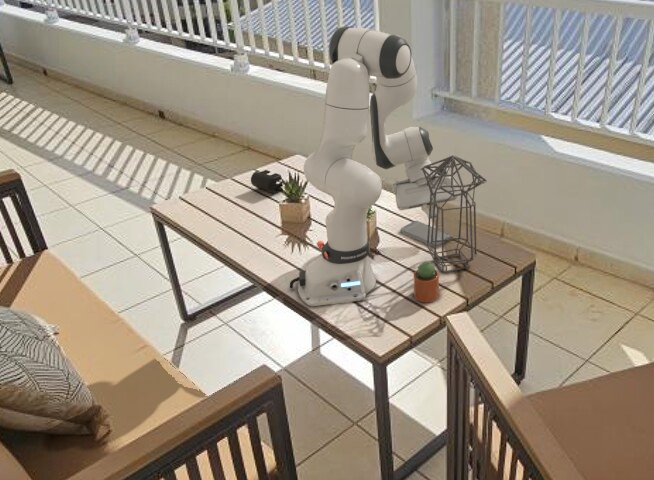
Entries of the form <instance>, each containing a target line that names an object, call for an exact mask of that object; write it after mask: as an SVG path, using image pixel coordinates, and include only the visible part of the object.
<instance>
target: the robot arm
mask: <svg viewBox="0 0 654 480" xmlns="http://www.w3.org/2000/svg"><path fill="white" fill-rule="evenodd" d="M328 53H329V58H330V61H331V66H330V70H329V73H328V78H327V81H326V82H327V83H326V88H325V97H324V112H323V124H322V125H323V126H322V132H321V136H320V141H319V142H318V145H317V146H316V149H315V150H314V151H313V152H311V153H310V154H309V155H307V158H306V159H305V161H304V164H303V175H304V177H305V179H306V180H307V181H308V182H309V183H310V184H311V185H312V186H313V187H314V188H315V189H317V190H319V191H320V192H322V193H325V194H326V195H328V196H330V197H331V198H332V199H333V202H334V207H333V209H332V210H330V211H329V212H328V214H327V215H326V217H325V228H326V238H327V241H326V242H324V241H323V240H318V241H317V242H316V246H317V248H318V250H320V251H321V254H320V255H319V256H318V257H317V258H316V259H314V260H313V261H312V262H311V263H310V264H308V265H307V266H306V268H305V270H300V271H298V277H295V278H293V279H292V280H290V282H289V288H290V289H293V288H294V284H295V283H296V282H298V284H297V291H298V295H299V297H300V299H301V300H302V302H303V303H304V304H306V305H308V306H309V307H319V306H326V305H335V304H342V303H343V304H344V303H352V302H360V301H364V299H365V298H366V296H367V294H368V293H370V292H372V290H373V289H374V288H375V286H376V285H377V278H376V276H375V274H374V272H373V269H372V264H371V259H370V257H371V245H370V244H371V243H370V239H369V238H368V232H367V231H368V228H367V217H368V211H369V209H370V207H372V206H374V205H375V204H376V203H377V201H379V199H380V197H381V195H382V192H383V191H382V190H383V182H382V179H381V177H380V176H379V175H378V174H377V173H376V172H375V171H374V170H372V169H371V168H370V167H369V166H367V165H365V164H363V163H360V162H358V161H356V160H354V159H353V153H354V150H355V147H356V145H359V144H360V143H362V142H363V141H364V140H365V139H366V137H367V134H368V125H369V124H368V123H369V113H370V127H371V155H372V156H371V157H372V160H373V161H374V163H375V165H376V166H377V167H379V168H381V169H384V170H389V169H391V168H394V167H397V166H400V165H404V168H405V169H404V170H405V171H404V172H405V175H406V179H403V180H397V181H395V182H394V183H393V184H392V186H391V189H392V193H393V194H394V195H395V196H394V197H395V203H396V207H397V209H398V210H399V211H405V210H411V209H416V208H421V211H422V212H423V213H424V214H425V215H426V217H427V219H428V220H429V209H428V206H430V195H431V194H430V189H429V186H427V181H426V178H425V176H424V173H423V171H422V170H420V169H421V168H423V167H424V166H426V165H429V164H431V163H432V162H431V160H430V156H431V154H432V152H433V150H434V147H433V145H432V142H431V140H430V133H429V131H428V130H426V128H423V127H421V126H407V127H405V128H403V129H402V130H400V131H398V132H394V133H390V134H386V120H387V119H388V117H389V116H391V115H392V114H393V113H394V112H396V111H397V110H398V109H400V108H401V107H404V106H406V105H407V104H408V103H409V102H410V101H411V100H412V99H413V98H414V96H415V94H416V92H417V90H418V76H417V70H416V65H415V62H414V58H413V56H412V49H411V46H410V43H408V41H407V40H406V39H405V38H403V37H402V36H400V35H398V34H390V33H387V32H383V31H378V30H375V29H374V28H369V27H355V26H341V27H337V29H336V30H334V32H333V34H332V35H331V37H330V40H329V45H328ZM371 77H376V83H377V85H376V88H375V91H374V93H372V94H371V93H370V78H371ZM370 94H371V95H370ZM424 169H425V170H426V171H427V172H428V173H429V174H430V173H431V172H433V171H431V170H429V169H426V168H424ZM431 169H433V170H435V169H436V168H431ZM447 170H448V168H447V169H446V170H445V172H444V175H445V174H446V172H447ZM442 171H443V169H441V170H440V171H439V173H442ZM434 174H435V172H434V173H433V174H432V175H431V176H430V178H431V177H432V176H433V175H434ZM447 175H450V170H449V171H448V173H447ZM426 176H427V174H426ZM439 176H440V175H439V174H436V176H435V177H434V178H433V179H432V180H431V181H432V183H433V184H435V182H436V181H437V179H438V178H439ZM444 177H445V176H443V177H442V180H441V182H440V184H439V186H440V185H441V183H442V181H443V179H444ZM428 180H429V179H428ZM429 183H430V182H429ZM438 183H439V181H438ZM438 183H437V184H436V186H435V188H436V187H437V185H438ZM445 185H451V177H449V176H446V177H445V179H444V181H443V183H442V185H441V186H445ZM453 185H456V182H455V180H454V179H453ZM430 186H431V187H432V185H431V183H430ZM435 188H433V189H432V191H433V193H434V192H435V190H436V189H435ZM438 188H439V187H438ZM444 189H446V190H447V191H452V188H451V187H444ZM453 189H454V190H458V187H453ZM437 192H443V190H442V189H440V190H438V189H437ZM451 193H453V192H451ZM455 194H459V191H454V195H455ZM450 196H451V195H450V194H449V193H447V192H446V193H437V194H436V202H437V205H438V206H439V204H444V203H445V202H446V201H447V200H448V199H449V197H450ZM458 197H459V196H455V197H453V196H452V197H451V198H450V199H449V200H448V201H447V202H446V203H448V202H454V201H455V200H457V198H458ZM432 198H433V196H432ZM433 200H434V199H433ZM433 206H434V202H433V201H432V204H431V208H433ZM436 216H437V208H436V206H435V217H434V219H436ZM431 219H433V210H431Z"/></svg>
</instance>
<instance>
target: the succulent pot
mask: <svg viewBox="0 0 654 480" xmlns="http://www.w3.org/2000/svg"><path fill="white" fill-rule="evenodd" d="M413 297H414V298H415V300H416V301H418V302H421V303H433V302H436V301H437V300H438V298H439V297H440V273H439V272H438V270H436V269H435V266H434V264H433V263H432V262H429V261H423V262H421V263H420V264H419V265H418V267H417V270H415V271H414V272H413Z"/></svg>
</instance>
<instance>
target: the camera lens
mask: <svg viewBox="0 0 654 480" xmlns="http://www.w3.org/2000/svg"><path fill="white" fill-rule="evenodd" d="M270 173H271V171H270V170H268V169H265V170H262V171H260V172H259V171H254V172H253V173H252V175H251V177H250V184H251V185H252V186H253V187H255V188H257V189H259V190H263V191H265V192H268V193H271V194H273V195H274V194H277V193H279V192H281V191H283V190H284V189H283V182H282V181H281V180H282V175H281V174H280V173H276V172H275V173H273V174H270ZM280 181H281V182H280ZM277 182H279V183H277Z"/></svg>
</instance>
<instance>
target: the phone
mask: <svg viewBox="0 0 654 480" xmlns="http://www.w3.org/2000/svg"><path fill="white" fill-rule="evenodd" d="M435 232H436V227H434V230H433V241H435ZM400 233H401V234H403V235H405V236H408V237H410V238H412V239H414V240H417V241H419V242H421V243H422V244H426V245H427V238H428V223H425V222H421V221H420V220H414V221H412V222H410V223H408V224H406V225H405V226H402V227H401V228H400ZM431 234H432V225H430V234H429V243H430V242H431ZM451 238H452V235H451V233H448V232H446V231H444V239H451ZM437 240H442V229H441V230H440V229H438V230H437ZM447 242H448V241H444V244H445V243H447ZM433 245H434V247H435V242H434V243H433ZM440 246H442V242H437V246H436V248H439V247H440ZM429 247H432V248H433V246H432V244H430V245H429Z"/></svg>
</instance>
